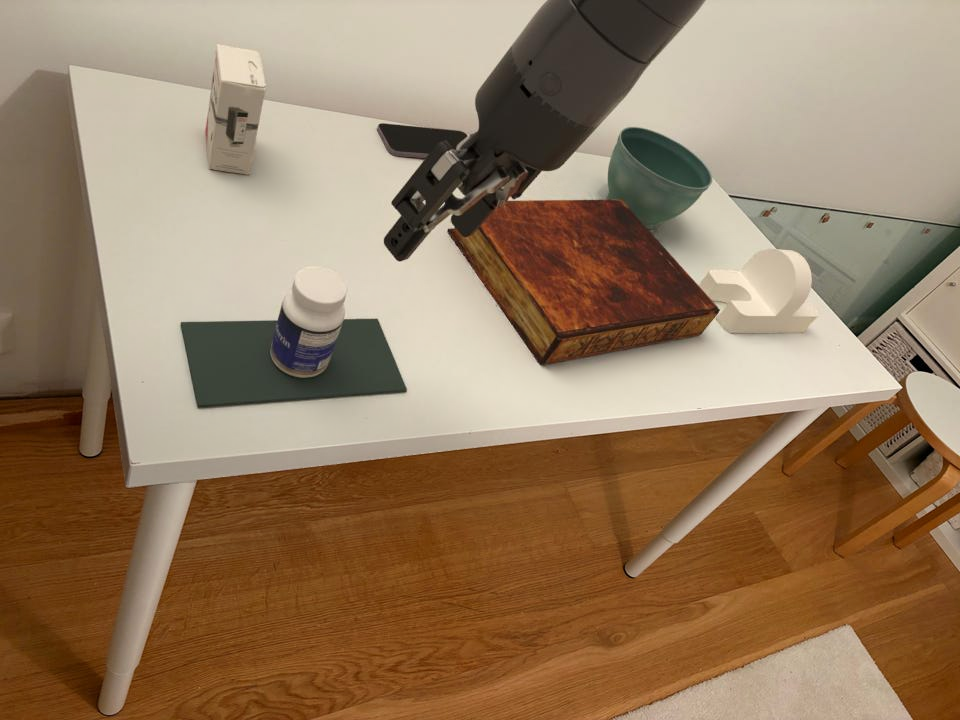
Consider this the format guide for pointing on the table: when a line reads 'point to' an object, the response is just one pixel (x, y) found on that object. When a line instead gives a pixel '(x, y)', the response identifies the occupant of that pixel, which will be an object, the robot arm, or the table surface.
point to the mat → (256, 379)
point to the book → (583, 278)
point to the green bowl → (655, 175)
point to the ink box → (234, 109)
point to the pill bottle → (309, 322)
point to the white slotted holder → (764, 294)
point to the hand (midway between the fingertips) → (428, 239)
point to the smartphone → (416, 139)
